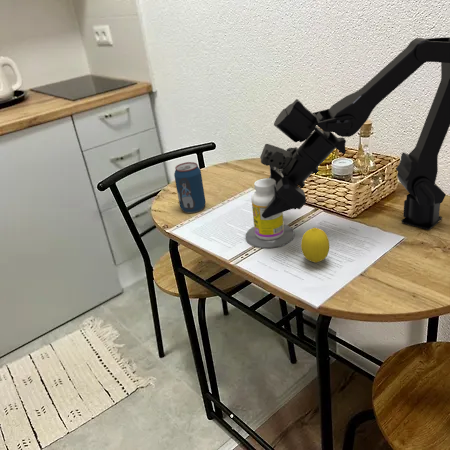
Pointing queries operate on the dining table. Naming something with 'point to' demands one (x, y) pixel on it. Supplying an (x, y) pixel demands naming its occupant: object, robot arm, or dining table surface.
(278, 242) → the coaster
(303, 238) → the lemon
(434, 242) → the dining table surface
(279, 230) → the supplement bottle
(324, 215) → the dining table surface
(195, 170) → the soda can
